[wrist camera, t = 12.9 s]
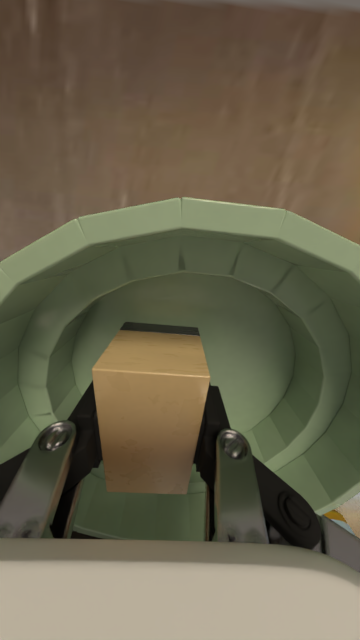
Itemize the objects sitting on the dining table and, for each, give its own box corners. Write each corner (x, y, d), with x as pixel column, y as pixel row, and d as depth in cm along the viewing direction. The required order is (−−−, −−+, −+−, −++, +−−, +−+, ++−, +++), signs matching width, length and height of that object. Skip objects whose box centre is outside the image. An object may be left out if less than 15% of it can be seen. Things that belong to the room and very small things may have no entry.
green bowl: (14, 207, 8) (-225, 147, 3) (372, 247, 9) (598, 245, 4) (70, 449, 14) (19, 544, 10) (270, 458, 15) (311, 550, 11)
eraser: (124, 321, 9) (90, 368, 6) (198, 327, 10) (211, 376, 6) (128, 418, 12) (106, 492, 8) (184, 421, 12) (186, 495, 9)
